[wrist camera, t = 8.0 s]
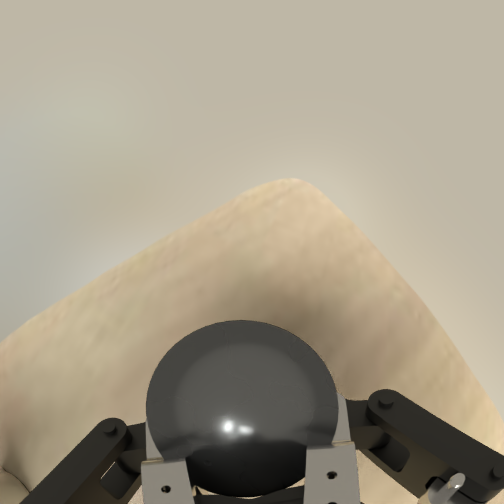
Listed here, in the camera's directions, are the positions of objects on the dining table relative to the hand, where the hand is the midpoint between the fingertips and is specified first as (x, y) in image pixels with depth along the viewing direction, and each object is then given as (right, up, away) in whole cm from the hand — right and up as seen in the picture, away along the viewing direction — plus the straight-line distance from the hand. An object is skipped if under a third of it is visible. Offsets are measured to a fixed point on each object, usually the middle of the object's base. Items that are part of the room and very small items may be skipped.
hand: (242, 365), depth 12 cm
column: (+1, -6, +6) cm, 8 cm away
